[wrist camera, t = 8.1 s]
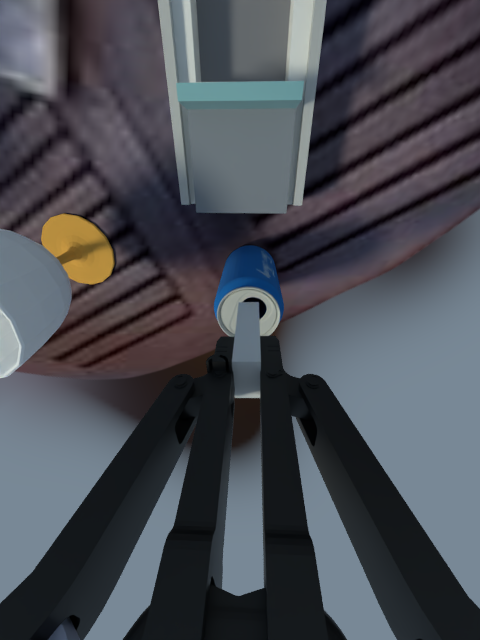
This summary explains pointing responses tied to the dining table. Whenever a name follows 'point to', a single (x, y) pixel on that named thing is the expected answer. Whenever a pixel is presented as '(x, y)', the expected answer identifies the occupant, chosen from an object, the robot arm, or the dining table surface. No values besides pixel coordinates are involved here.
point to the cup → (45, 282)
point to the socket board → (242, 63)
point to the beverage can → (249, 289)
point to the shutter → (241, 143)
